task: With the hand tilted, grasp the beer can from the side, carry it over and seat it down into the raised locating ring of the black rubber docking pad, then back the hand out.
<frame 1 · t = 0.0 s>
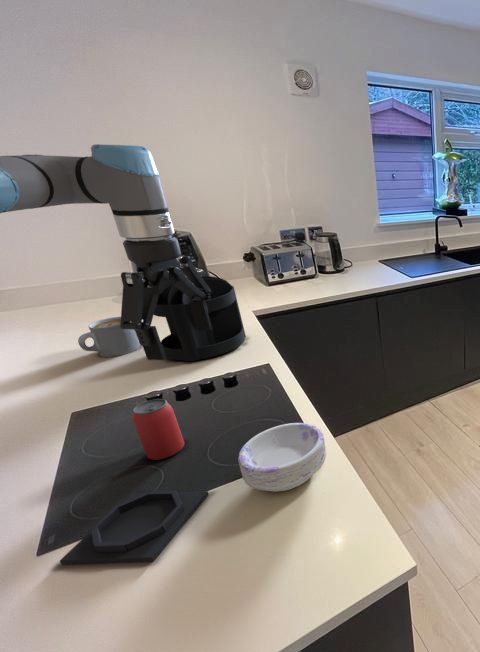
hand: (182, 343, 80), 26 cm above the worktop, tool pointing down, fingers open, 13 cm apart
container: (208, 347, 136), on the worktop
coffee mug: (113, 352, 131), on the worktop
white round bowl: (289, 475, 83), on the worktop
dock pad: (142, 526, 71), on the worktop
beer can: (167, 451, 89), on the worktop
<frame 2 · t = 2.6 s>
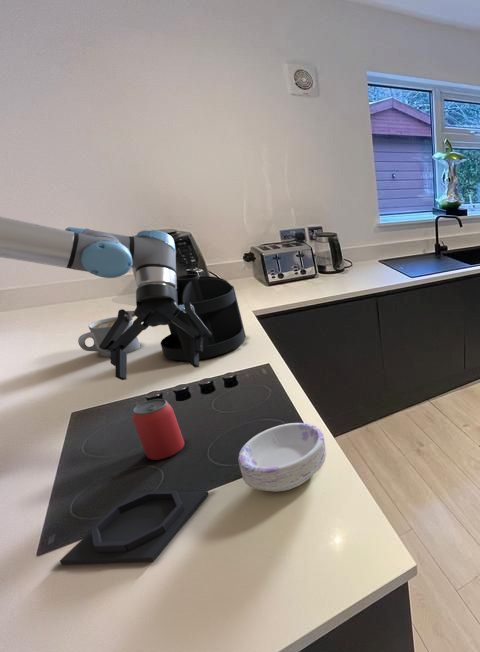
hand: (159, 372, 91), 15 cm above the worktop, tool tilted 45°, fingers open, 13 cm apart
nothing on the worktop moved.
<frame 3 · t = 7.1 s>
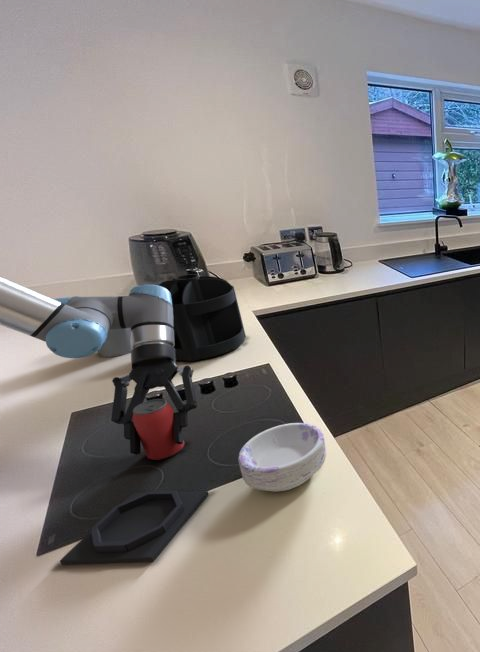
hand: (157, 447, 84), 4 cm above the worktop, tool tilted 45°, fingers closed on beer can, 6 cm apart
beer can: (166, 452, 89), on the worktop, touching gripper
everything else where it was.
when the fingers open (5 cm above the worktop, at t = 15.9 s): beer can stays where it is, resting on dock pad.
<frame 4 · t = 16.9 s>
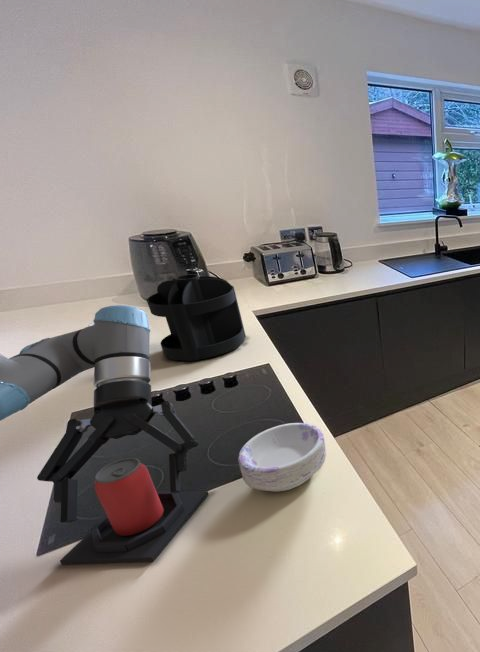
hand: (124, 506, 66), 7 cm above the worktop, tool tilted 45°, fingers open, 13 cm apart
beer can: (141, 522, 71), point 1 cm above the worktop, touching dock pad
everything else where it was.
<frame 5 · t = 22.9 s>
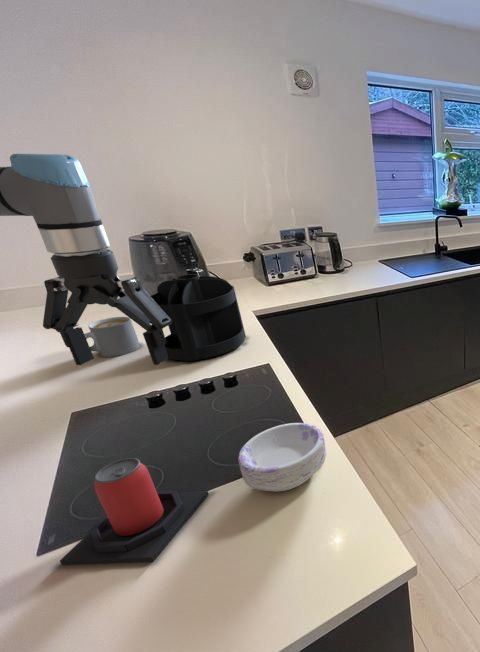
hand: (123, 361, 76), 25 cm above the worktop, tool pointing down, fingers open, 13 cm apart
nothing on the worktop moved.
at the end: beer can 0.1 cm off-centre on the dock pad, point 0.8 cm above the dock pad's base; beer can tilted 0°; the gripper is holding nothing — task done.
